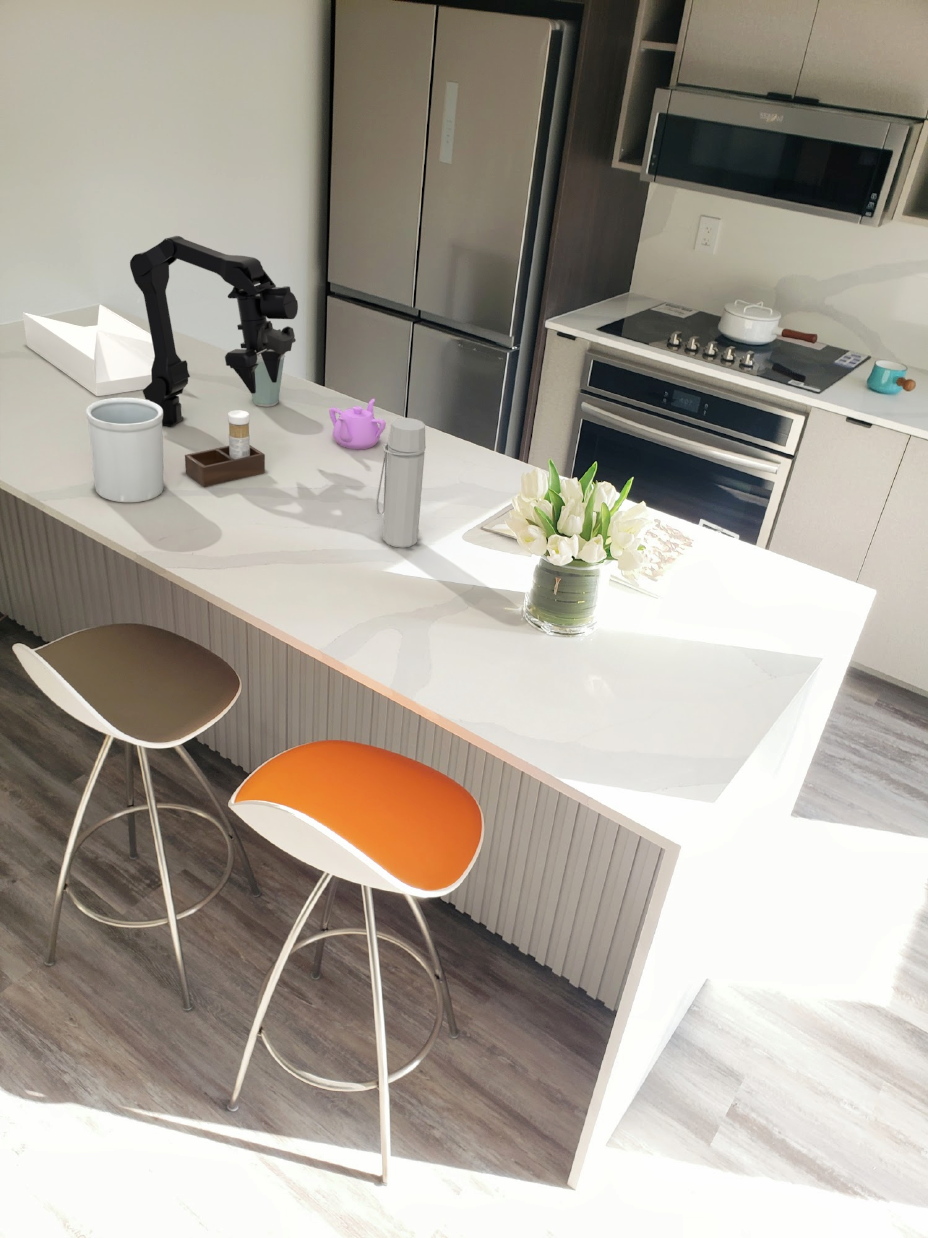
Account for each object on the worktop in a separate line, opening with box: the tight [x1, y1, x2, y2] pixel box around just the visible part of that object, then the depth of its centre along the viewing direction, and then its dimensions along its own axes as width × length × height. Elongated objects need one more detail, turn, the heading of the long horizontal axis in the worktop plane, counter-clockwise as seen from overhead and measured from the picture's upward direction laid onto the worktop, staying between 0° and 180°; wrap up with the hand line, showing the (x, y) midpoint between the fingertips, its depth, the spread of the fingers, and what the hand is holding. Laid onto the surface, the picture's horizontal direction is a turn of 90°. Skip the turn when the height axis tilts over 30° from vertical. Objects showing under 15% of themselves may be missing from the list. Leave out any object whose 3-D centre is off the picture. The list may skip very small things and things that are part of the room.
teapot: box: [328, 398, 387, 450], centre depth 245 cm, size 12×14×9 cm
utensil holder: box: [85, 397, 165, 503], centre depth 208 cm, size 15×15×18 cm
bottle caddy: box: [184, 444, 266, 488], centre depth 223 cm, size 8×15×4 cm, turn 132°
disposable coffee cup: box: [244, 348, 286, 408], centre depth 260 cm, size 11×11×15 cm
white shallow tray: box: [22, 304, 155, 397], centre depth 274 cm, size 45×22×10 cm, turn 42°
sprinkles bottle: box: [227, 409, 251, 459], centre depth 223 cm, size 5×5×14 cm
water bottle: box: [375, 417, 427, 549], centre depth 198 cm, size 9×8×25 cm
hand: (264, 387), depth 232 cm, fingers open, 9 cm apart
